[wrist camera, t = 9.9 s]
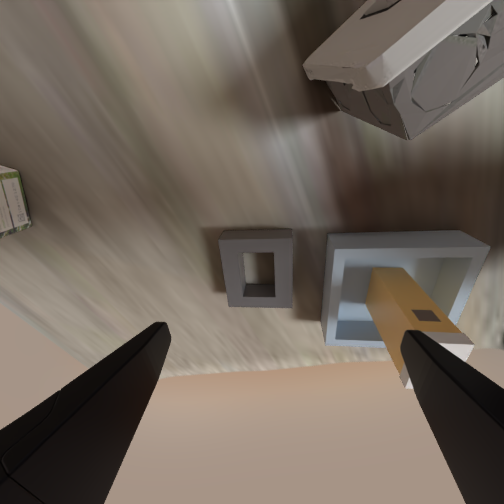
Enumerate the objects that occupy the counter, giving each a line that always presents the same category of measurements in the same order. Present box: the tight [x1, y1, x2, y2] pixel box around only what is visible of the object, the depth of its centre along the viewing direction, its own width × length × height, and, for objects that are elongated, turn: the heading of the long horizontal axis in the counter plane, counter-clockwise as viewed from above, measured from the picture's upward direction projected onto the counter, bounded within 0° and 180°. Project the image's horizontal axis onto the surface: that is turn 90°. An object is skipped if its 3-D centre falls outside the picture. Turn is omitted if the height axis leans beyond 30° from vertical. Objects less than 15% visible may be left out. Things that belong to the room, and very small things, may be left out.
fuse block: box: [218, 229, 293, 308], centre depth 20 cm, size 6×7×2 cm
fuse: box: [365, 267, 474, 389], centre depth 17 cm, size 2×4×8 cm, turn 3°
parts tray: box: [321, 230, 491, 348], centre depth 19 cm, size 10×10×3 cm
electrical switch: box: [303, 0, 504, 140], centre depth 10 cm, size 9×5×9 cm, turn 129°
